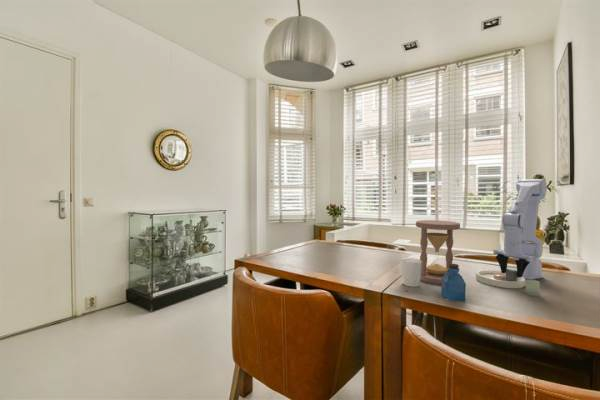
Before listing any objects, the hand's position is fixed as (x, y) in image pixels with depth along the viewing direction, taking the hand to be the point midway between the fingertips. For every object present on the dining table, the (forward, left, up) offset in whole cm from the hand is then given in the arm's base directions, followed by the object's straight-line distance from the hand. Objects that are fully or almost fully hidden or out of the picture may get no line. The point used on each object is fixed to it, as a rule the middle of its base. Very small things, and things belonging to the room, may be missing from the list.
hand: (511, 275), depth 120 cm
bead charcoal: (0, 0, -3) cm, 3 cm away
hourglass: (+22, -18, -4) cm, 29 cm away
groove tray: (0, -5, -4) cm, 6 cm away
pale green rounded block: (+4, +10, -4) cm, 12 cm away
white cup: (+38, -16, -4) cm, 41 cm away
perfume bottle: (+34, +1, -4) cm, 34 cm away
